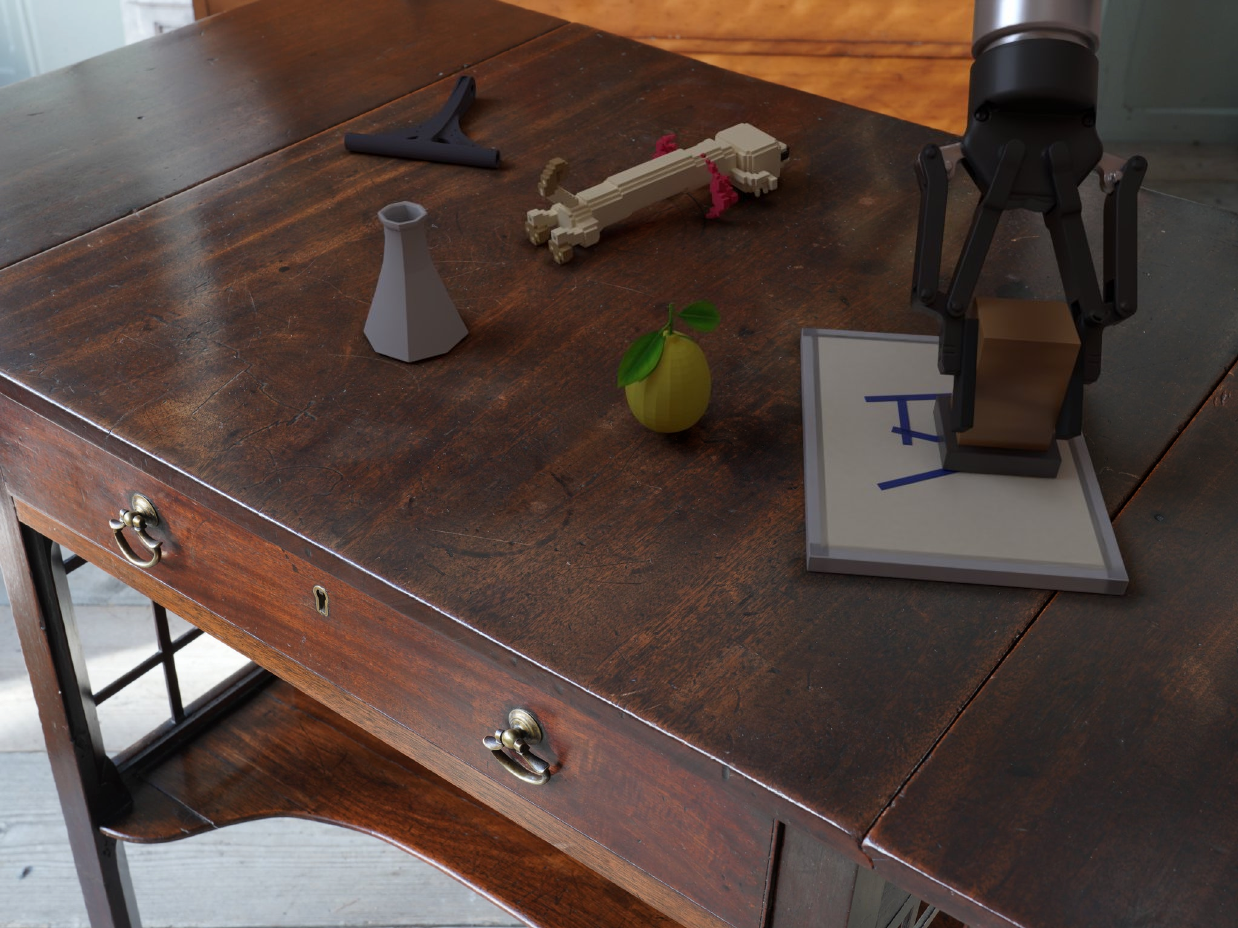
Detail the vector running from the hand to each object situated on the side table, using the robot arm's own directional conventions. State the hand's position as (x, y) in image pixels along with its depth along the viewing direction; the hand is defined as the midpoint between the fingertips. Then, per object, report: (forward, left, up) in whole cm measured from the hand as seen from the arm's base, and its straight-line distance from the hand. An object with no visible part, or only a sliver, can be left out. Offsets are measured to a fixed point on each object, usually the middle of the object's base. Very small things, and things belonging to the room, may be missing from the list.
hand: (1014, 432), depth 73 cm
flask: (+40, -14, -5) cm, 43 cm away
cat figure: (+23, -35, -5) cm, 42 cm away
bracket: (+45, -49, -5) cm, 66 cm away
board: (+3, -4, -5) cm, 7 cm away
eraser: (0, -4, -4) cm, 5 cm away
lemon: (+21, -5, -5) cm, 22 cm away
